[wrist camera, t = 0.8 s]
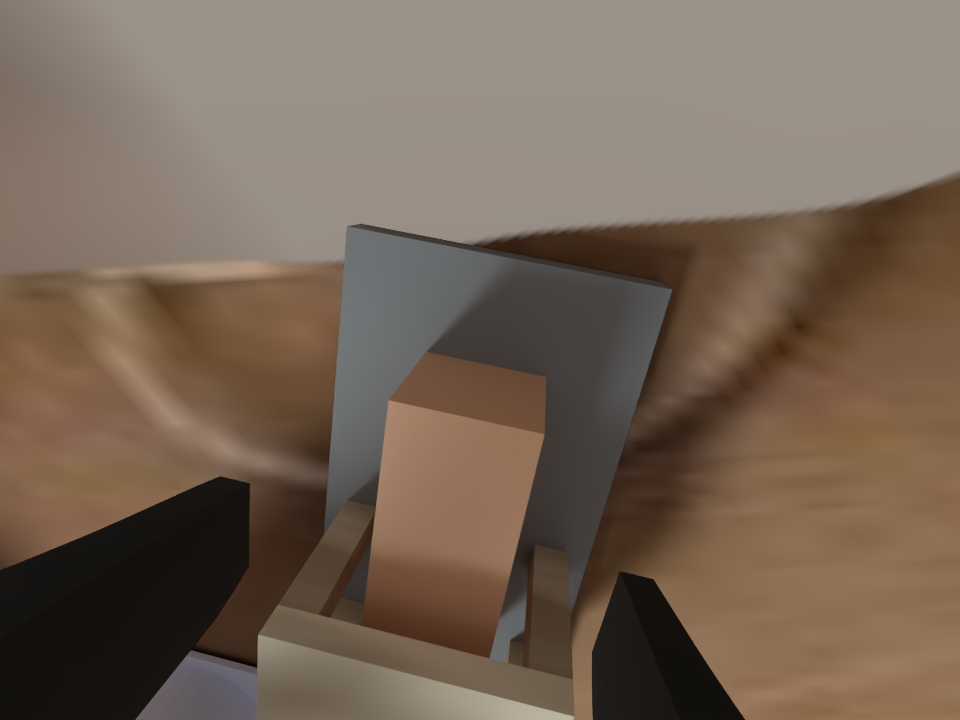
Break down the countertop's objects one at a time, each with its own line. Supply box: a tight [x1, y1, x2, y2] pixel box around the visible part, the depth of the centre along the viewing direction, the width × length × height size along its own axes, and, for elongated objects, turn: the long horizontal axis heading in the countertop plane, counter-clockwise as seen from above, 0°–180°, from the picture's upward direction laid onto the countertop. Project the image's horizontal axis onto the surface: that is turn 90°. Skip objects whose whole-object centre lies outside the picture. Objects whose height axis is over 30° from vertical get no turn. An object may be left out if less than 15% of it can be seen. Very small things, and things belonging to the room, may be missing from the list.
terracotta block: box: [362, 352, 546, 658], centre depth 16 cm, size 11×4×4 cm, turn 170°
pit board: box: [324, 224, 672, 662], centre depth 19 cm, size 21×10×1 cm, turn 170°
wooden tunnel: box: [256, 500, 574, 720], centre depth 17 cm, size 6×8×6 cm
